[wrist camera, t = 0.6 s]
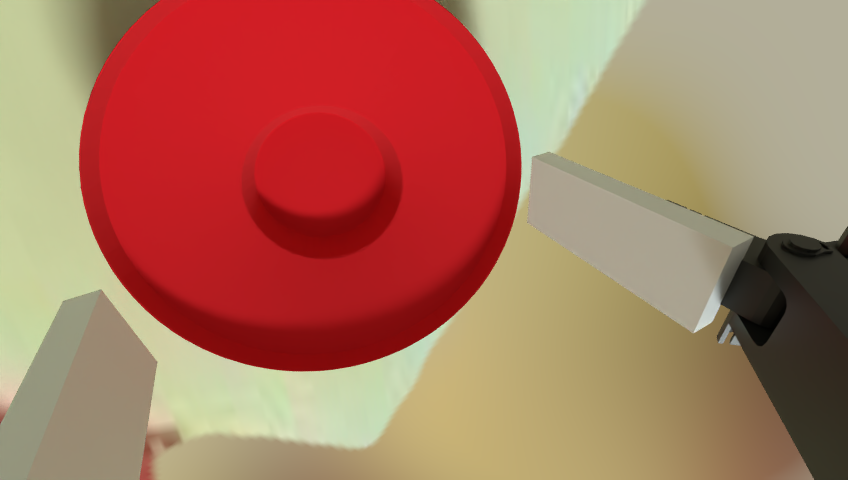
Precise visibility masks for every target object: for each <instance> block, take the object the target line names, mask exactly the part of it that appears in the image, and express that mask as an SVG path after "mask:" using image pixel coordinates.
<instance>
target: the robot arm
mask: <svg viewBox="0 0 848 480" xmlns="http://www.w3.org/2000/svg"><path fill="white" fill-rule="evenodd" d="M527 223H529V224H530V225H532V226H533V227H535V228H536V229H538V230H539V231H541V232H542V233H544V234H545V235H547V236H548V237H550V238H551V239H553V240H554V241H556V242H557V243H559V244H560V245H562V246H563V247H565V248H566V249H568V250H569V251H571V252H572V253H574V254H575V255H577V256H578V257H580V258H581V259H583V260H584V261H586V262H587V263H589V264H590V265H592V266H593V267H595V268H596V269H598V270H599V271H601V272H602V273H604V274H605V275H607V276H608V277H610V278H611V279H613V280H614V281H616V282H617V283H619V284H620V285H622V286H623V287H625V288H626V289H628V290H629V291H631V292H632V293H634V294H635V295H637V296H638V297H640V298H641V299H643V300H644V301H646V302H647V303H649V304H650V305H652V306H653V307H655V308H656V309H658V310H659V311H661V312H662V313H664V314H665V315H667V316H668V317H670V318H671V319H673V320H675V321H676V322H677V323H679V324H680V325H682V326H683V327H685V328H686V329H688V330H689V331H691V332H692V333H694V332H696V331H698V330H699V329H701V328H703V327H704V326H706V325H708V324H709V323H711V322H712V321H713V319H714V317H715V315H716V313H717V311H718V309H719V307H720V305H723V306H725V307H727V308H729V309H730V312H729V314H728V316H727V318H726V320H725V322H724V324H723V325H722V327H721V329H720V331H719V333H718V335H717V340H718V343H723V342H724V340H725V339H726V337H727V335H728V333H729V332H734V334H733V336H732V338H731V340H730V344H732V345H741V347H742V349H743V351H744V352H745V354H746V356H747V358H748V360H749V362H750V363H751V365H752V367H753V369H754V371H755V372H756V374H757V376H758V378H759V380H760V382H761V383H762V385H763V387H764V389H765V391H766V393H767V394H768V396H769V398H770V400H771V402H772V403H773V405H774V407H775V409H776V411H777V412H778V414H779V416H780V418H781V420H782V422H783V423H784V425H785V427H786V429H787V431H788V432H789V434H790V436H791V438H792V440H793V441H794V443H795V445H796V447H797V449H798V451H799V453H800V454H801V456H802V458H803V459H804V461H805V463H806V465H807V467H808V469H809V471H810V473H811V474H812V476H813V478H814V480H848V227H847V228H846V229H845V231H844V233H843V234H842V236H841V237H840V239H839V240H838V241H832V242H821V241H819V240H817V239H814V238H810V237H806V236H803V235H796V234H789V233H782V234H774V235H772V236H769V237H768V239H767V240H764V239H762V238H759V237H756V236H754V235H751V234H749V233H747V232H744V231H742V230H739V229H737V228H735V227H732V226H730V225H727V224H725V223H722V222H720V221H718V220H715V219H713V218H710V217H708V216H703V215H702V214H700V213H698V212H696V211H693V210H688V209H687V208H686V207H684V206H681V205H679V204H676V203H674V202H671V201H669V200H664V199H662V198H660V197H657V196H655V195H652V194H650V193H647V192H645V191H642V190H640V189H638V188H635V187H633V186H630V185H628V184H625V183H623V182H621V181H618V180H616V179H613V178H611V177H609V176H606V175H604V174H601V173H599V172H597V171H594V170H592V169H589V168H587V167H584V166H582V165H580V164H577V163H575V162H572V161H570V160H567V159H565V158H563V157H560V156H558V155H556V154H553V153H551V152H547V153H544V154H540V155H537V156H534V157H532V167H531V180H530V194H529V207H528V221H527ZM156 367H157V361H156V360H155V358H154V357H153V356H152V354H151V353H150V352H149V351H148V349H147V348H146V347H145V345H144V344H143V343H142V342H141V340H140V339H139V338H138V336H137V335H136V334H135V333H134V331H133V330H132V329H131V327H130V326H129V325H128V323H127V322H126V321H125V320H124V318H123V317H122V316H121V314H120V313H119V312H118V311H117V309H116V308H115V307H114V305H113V304H112V303H111V302H110V300H109V299H108V298H107V296H106V295H105V294H104V293H103V291H102V290H98V291H95V292H91V293H88V294H85V295H82V296H78V297H75V298H72V299H68V300H65V301H63V303H62V305H61V307H60V308H59V310H58V312H57V314H56V316H55V318H54V320H53V322H52V324H51V326H50V328H49V330H48V332H47V334H46V336H45V338H44V340H43V342H42V344H41V346H40V348H39V350H38V352H37V354H36V356H35V358H34V360H33V362H32V364H31V365H30V367H29V369H28V371H27V373H26V375H25V377H24V379H23V381H22V383H21V385H20V387H19V389H18V391H17V393H16V395H15V397H14V399H13V401H12V403H11V405H10V407H9V409H8V411H7V413H6V415H5V417H4V419H3V421H2V422H1V424H0V480H139V479H140V472H141V465H142V459H143V452H144V446H145V439H146V432H147V426H148V419H149V413H150V406H151V400H152V393H153V386H154V380H155V373H156Z"/></svg>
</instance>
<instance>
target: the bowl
mask: <svg viewBox="0 0 848 480" xmlns="http://www.w3.org/2000/svg"><path fill="white" fill-rule="evenodd" d="M79 170H80V182H81V191H82V196H83V201H84V206H85V209H86V213H87V216H88V220H89V223H90V226H91V229H92V231H93V234H94V236H95V239H96V241H97V243H98V245H99V247H100V249H101V251H102V253H103V255H104V257H105V258H106V260H107V262H108V264H109V266H110V267H111V269H112V271H113V272H114V273H115V275H116V276H117V278H118V279H119V280H120V282H121V283H122V285H123V286H124V287H125V288H126V289H127V290H128V292H129V293H130V294H131V295H132V296H133V297H134V298H135V300H136V301H137V302H138V303H139V304H140V305H141V306H142V307H143V308H144V309H145V310H146V311H147V312H149V313H150V314H151V315H152V316H153V317H154V318H156V319H157V320H158V321H159V322H160V323H162V324H163V325H165V326H166V327H167V328H169V329H170V330H171V331H173V332H174V333H176V334H177V335H179V336H181V337H182V338H184V339H185V340H187V341H189V342H191V343H193V344H195V345H197V346H198V347H200V348H202V349H205V350H207V351H209V352H211V353H214V354H216V355H219V356H221V357H224V358H227V359H230V360H233V361H237V362H240V363H243V364H247V365H251V366H256V367H261V368H267V369H274V370H283V371H324V370H333V369H340V368H346V367H351V366H356V365H360V364H364V363H367V362H371V361H374V360H377V359H380V358H383V357H386V356H388V355H391V354H393V353H395V352H398V351H400V350H402V349H404V348H406V347H408V346H410V345H412V344H414V343H416V342H417V341H419V340H421V339H422V338H424V337H426V336H427V335H429V334H430V333H432V332H433V331H435V330H436V329H437V328H439V327H440V326H441V325H443V324H444V323H445V322H447V321H448V320H449V319H450V318H451V317H452V316H454V315H455V314H456V313H457V312H458V311H459V310H460V309H461V308H462V307H463V306H464V305H465V304H466V303H467V302H468V301H469V300H470V298H471V297H472V296H473V295H474V294H475V293H476V292H477V290H478V289H479V288H480V287H481V285H482V284H483V282H484V281H485V280H486V278H487V277H488V275H489V274H490V272H491V270H492V269H493V267H494V266H495V264H496V262H497V260H498V258H499V256H500V254H501V252H502V250H503V248H504V246H505V244H506V241H507V238H508V236H509V234H510V231H511V228H512V225H513V221H514V218H515V214H516V210H517V205H518V200H519V193H520V185H521V148H520V140H519V133H518V128H517V123H516V119H515V115H514V111H513V108H512V105H511V102H510V99H509V97H508V94H507V92H506V89H505V87H504V85H503V83H502V80H501V78H500V76H499V74H498V72H497V71H496V69H495V67H494V65H493V64H492V62H491V60H490V59H489V57H488V56H487V54H486V53H485V51H484V50H483V48H482V47H481V46H480V44H479V43H478V42H477V40H476V39H475V38H474V37H473V36H472V34H471V33H470V32H469V31H468V30H467V29H466V28H465V27H464V26H463V24H462V23H461V22H460V21H459V20H458V19H457V18H455V17H454V16H453V15H452V14H451V13H450V12H449V11H448V10H446V9H445V8H444V7H443V6H441V5H440V4H439V3H438V2H436V1H435V0H160V1H159V2H158V3H156V4H155V5H154V6H153V7H151V8H150V9H149V10H148V11H147V12H146V13H145V14H144V15H143V16H142V17H140V18H139V19H138V20H137V21H136V22H135V23H134V24H133V25H132V26H131V27H130V28H129V30H128V31H127V32H126V34H125V35H124V36H123V37H122V39H121V40H120V41H119V42H118V44H117V45H116V46H115V48H114V49H113V51H112V52H111V54H110V55H109V57H108V58H107V60H106V62H105V64H104V66H103V68H102V70H101V72H100V73H99V75H98V77H97V80H96V82H95V84H94V87H93V89H92V92H91V95H90V98H89V101H88V105H87V108H86V111H85V114H84V120H83V125H82V130H81V137H80V148H79Z"/></svg>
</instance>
